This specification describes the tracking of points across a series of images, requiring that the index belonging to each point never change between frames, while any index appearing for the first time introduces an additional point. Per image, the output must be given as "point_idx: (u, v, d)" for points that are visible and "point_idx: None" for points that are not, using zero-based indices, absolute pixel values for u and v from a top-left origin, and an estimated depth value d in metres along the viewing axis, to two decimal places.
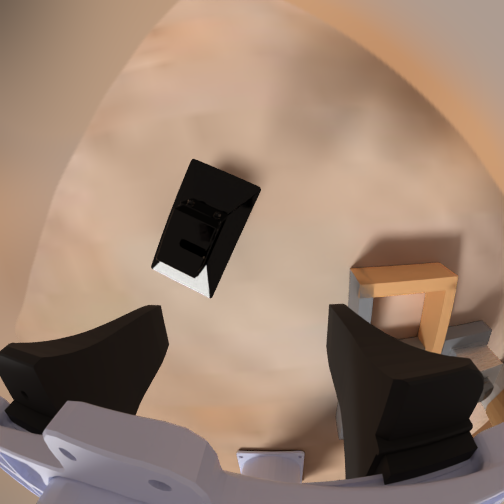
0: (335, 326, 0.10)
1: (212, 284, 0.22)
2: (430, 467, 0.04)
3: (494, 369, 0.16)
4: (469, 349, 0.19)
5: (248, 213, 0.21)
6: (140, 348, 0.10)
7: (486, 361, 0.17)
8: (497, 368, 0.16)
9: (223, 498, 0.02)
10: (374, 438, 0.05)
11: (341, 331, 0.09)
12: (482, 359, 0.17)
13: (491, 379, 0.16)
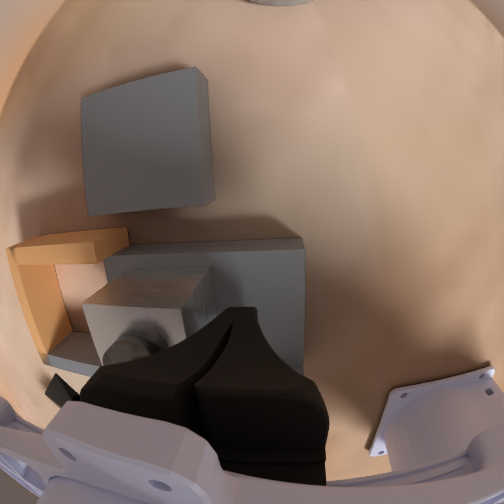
0: None
1: None
2: None
3: (95, 329, 0.09)
4: None
5: (72, 389, 0.19)
6: None
7: None
8: (93, 317, 0.09)
9: (223, 498, 0.02)
10: (210, 442, 0.05)
11: None
12: None
13: (120, 324, 0.09)
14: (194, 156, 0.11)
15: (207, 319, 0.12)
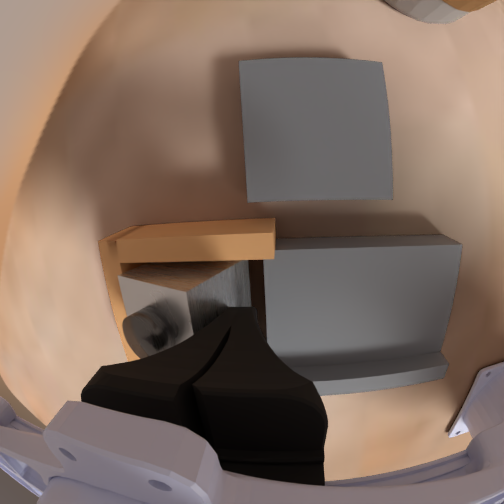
0: None
1: None
2: None
3: (127, 299, 0.11)
4: None
5: None
6: None
7: None
8: (125, 288, 0.11)
9: (223, 498, 0.02)
10: (209, 442, 0.05)
11: None
12: None
13: (143, 298, 0.11)
14: (386, 150, 0.10)
15: None
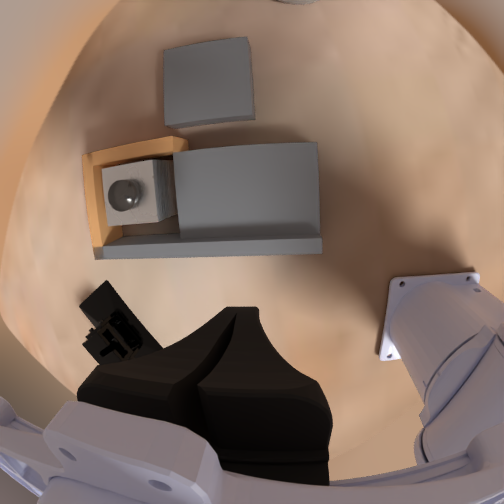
0: None
1: None
2: None
3: (106, 183, 0.17)
4: None
5: (119, 298, 0.24)
6: None
7: None
8: (106, 176, 0.17)
9: (223, 498, 0.02)
10: (213, 442, 0.05)
11: None
12: None
13: (121, 176, 0.17)
14: (246, 86, 0.17)
15: (169, 185, 0.20)
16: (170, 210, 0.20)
